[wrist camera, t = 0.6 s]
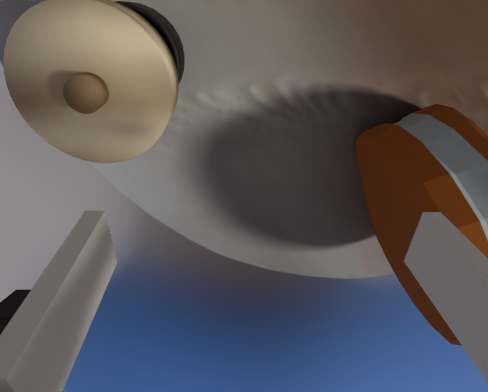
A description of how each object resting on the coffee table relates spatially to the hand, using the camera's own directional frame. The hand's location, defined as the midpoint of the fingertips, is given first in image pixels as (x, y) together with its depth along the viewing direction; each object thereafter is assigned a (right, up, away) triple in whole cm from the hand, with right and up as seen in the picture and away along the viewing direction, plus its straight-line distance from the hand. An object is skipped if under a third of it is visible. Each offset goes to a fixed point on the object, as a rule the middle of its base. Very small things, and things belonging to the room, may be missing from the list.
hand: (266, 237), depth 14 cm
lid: (-12, +11, +12) cm, 20 cm away
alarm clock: (+20, +4, +29) cm, 35 cm away
